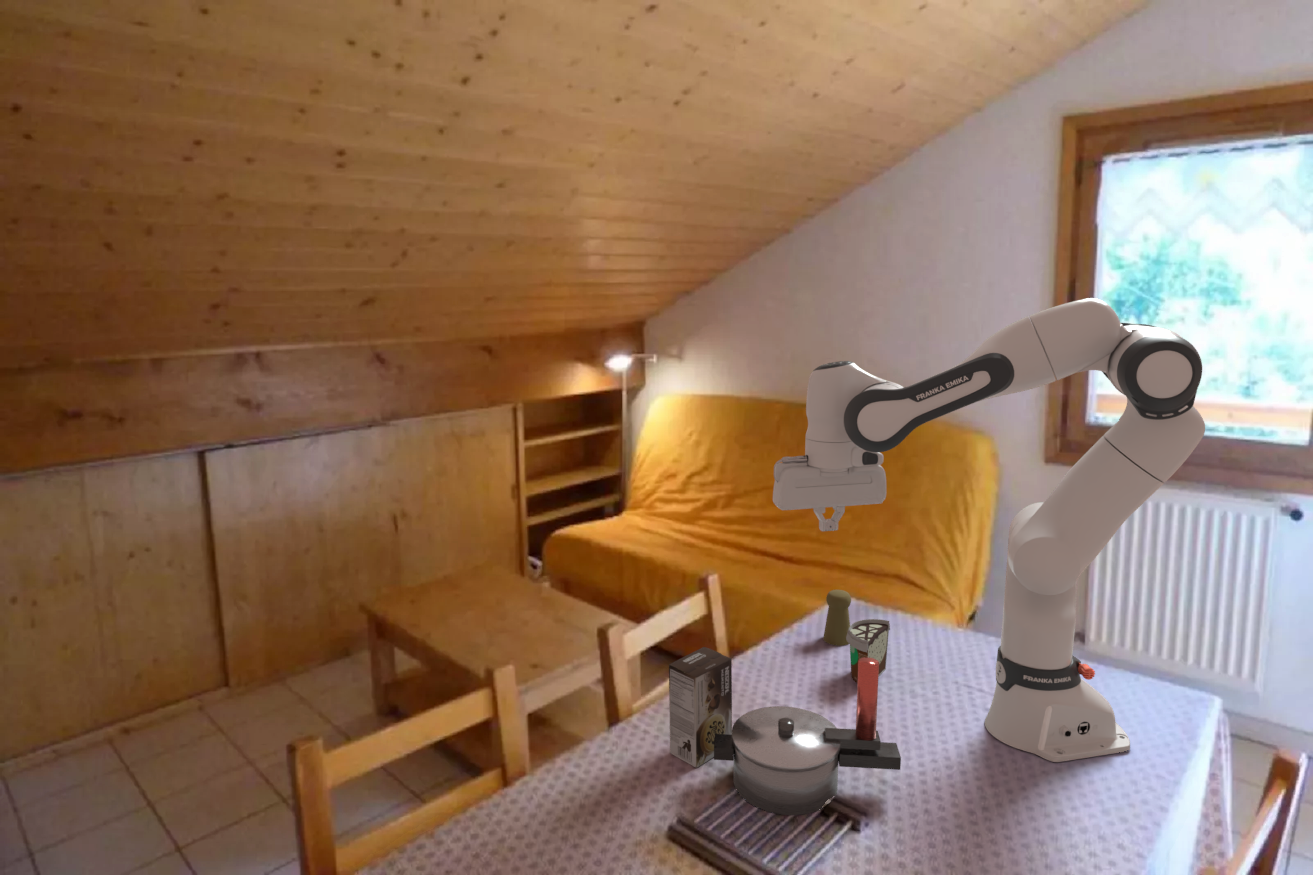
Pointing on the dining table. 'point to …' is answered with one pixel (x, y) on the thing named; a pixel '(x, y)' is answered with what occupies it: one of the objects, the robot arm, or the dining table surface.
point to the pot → (798, 777)
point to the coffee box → (699, 704)
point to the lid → (808, 730)
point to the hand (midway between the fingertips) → (828, 530)
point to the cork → (837, 618)
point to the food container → (868, 643)
